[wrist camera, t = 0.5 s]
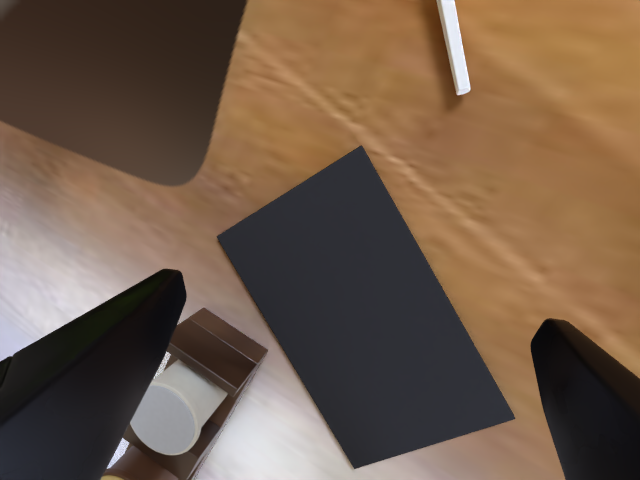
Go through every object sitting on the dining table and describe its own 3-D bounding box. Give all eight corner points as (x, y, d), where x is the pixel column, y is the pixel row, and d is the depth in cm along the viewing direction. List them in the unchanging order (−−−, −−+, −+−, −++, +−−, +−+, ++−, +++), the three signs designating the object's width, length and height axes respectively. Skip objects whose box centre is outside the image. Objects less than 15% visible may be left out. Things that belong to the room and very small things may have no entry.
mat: (513, 414, 23) (515, 419, 22) (355, 465, 26) (354, 469, 26) (362, 145, 22) (361, 145, 21) (219, 235, 25) (216, 236, 25)
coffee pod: (246, 394, 25) (211, 443, 21) (196, 416, 27) (153, 466, 22) (211, 335, 25) (167, 371, 20) (162, 360, 26) (111, 399, 22)
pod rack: (268, 349, 26) (237, 389, 21) (192, 482, 31) (153, 539, 26) (203, 307, 27) (160, 336, 22) (138, 442, 31) (90, 491, 27)
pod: (202, 470, 27) (162, 528, 23) (158, 486, 29) (113, 544, 24) (169, 416, 27) (123, 465, 23) (127, 435, 29) (75, 484, 24)
